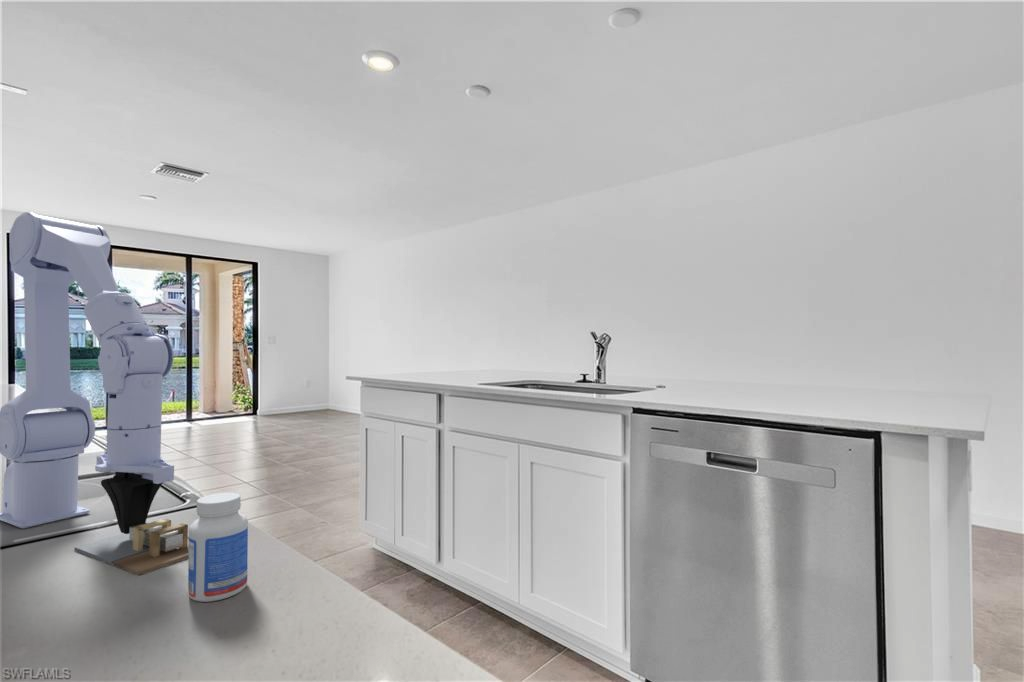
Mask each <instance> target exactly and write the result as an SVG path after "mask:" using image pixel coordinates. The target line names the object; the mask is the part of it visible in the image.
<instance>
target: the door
mask: <svg viewBox="0 0 1024 682" xmlns="http://www.w3.org/2000/svg"><path fill="white" fill-rule="evenodd" d="M146 523H147V524H144V525H140V526H136V527H133V541H132V540H129V534H124V533H120V534H118V535H113V536H110V537H106V538H101V539H98V540H95V541H91V542H89V543H85V544H81V545H77V546H74V549H73V550H74V551H75V552H77V553H80V554H83V555H84V556H88V557H90V558H93V559H96V560H99V561H100V562H103V563H106V564H108V565H113V562H115V561H118V560H121V559H124V558H127V557H131V556H134V555H137V554H140V553H143V552H146V551H149V546H147V545H144V544H143V530H146V529H149V528H153V527H156V526H160V527H164V528H167V527H170V526H172V519H169V518H162V519H159V520H156V521H152V522H146ZM176 531H177V532H178V530H176ZM188 538H189V531H188Z"/></svg>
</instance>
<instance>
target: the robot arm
mask: <svg viewBox="0 0 1024 682" xmlns="http://www.w3.org/2000/svg"><path fill="white" fill-rule="evenodd" d="M8 237H9V241H8V243H9V262H10V271H11V272H12V273H15V274H16V275H18V276H20V277H22V278H23V295H24V297H23V298H24V299H23V300H24V301H23V302H24V307H23V308H24V346H25V347H24V348H25V349H24V351H25V353H24V354H25V391H23V392H22V393H20V394H19V395H17V396H15V397H14V398H12V399H11V400H9V401H8V402H6V403H5V404H4V405H2V406H1V407H0V455H1V456H3V457H4V458H5V459H7V460H8V461H12V462H10V464H9V465H8V466H7V467H6V469H5V471H4V474H3V497H2V498H3V499H2V500H3V501H2V503H3V504H2V512H0V521H1V522H4V523H7V524H10V525H13V526H15V527H17V528H20V529H25V528H30V527H31V528H32V527H34V526H38V525H39V526H40V525H42V524H47V523H52V522H56V521H60V520H65V519H69V518H73V517H78V516H81V515H85V514H89V513H90V512H91V510H90V509H89V508H86V507H82V506H79V505H78V497H79V496H78V490H79V482H78V481H79V457H80V454H81V455H82V454H84V453H85V449H86V448H88V447H89V446H90V444H91V443H92V442H93V440H94V438H95V433H96V424H95V419H94V417H93V416H92V410H91V404H90V400H88V399H87V398H86V397H84V396H83V395H81V394H80V393H79V394H78V393H77V392H76V391H74V390H73V389H72V388H71V386H72V385H71V383H72V382H71V348H70V341H71V340H70V310H69V309H70V307H69V306H70V305H69V303H70V302H69V301H70V299H69V288H70V287H71V285H72V284H73V283H74V282H75V283H77V285H78V286H79V288H80V289H81V291H82V293H83V294H84V295H85V296H86V298H87V300H88V302H87V303H86V304H85V306H84V309H83V311H84V315H85V317H86V319H87V321H88V323H89V326H90V327H91V329H92V331H93V333H94V335H95V337H96V340H97V341H98V342H99V345H100V350H99V354H98V356H97V363H98V369H99V371H100V374H101V377H102V388H103V391H104V392H105V393H107V422H106V423H107V424H106V425H107V426H106V429H107V430H106V453H105V454H100V455H97V456H96V465H95V472H98V473H108V472H112V473H114V472H115V474H114V475H113V477H110V478H109V477H108V478H104V479H102V480H101V481H100V484H101V485H100V486H101V487H102V488H103V489H104V491H105V492H106V494H107V496H108V497H109V499H110V502H111V504H112V507H113V510H114V512H115V517H116V520H117V524H118V528H119V531H120V534H129V533H130V527H132V526H136V525H139V524H143V523H147V519H148V516H149V512H150V509H151V506H152V504H153V500H154V499H155V498H156V497H155V496H156V495H157V493H158V491H159V490H160V488H161V486H162V485H163V484H164V483H168V482H174V480H175V465H172V464H169V463H168V462H167V461H166V459H164V458H163V457H161V455H162V453H161V449H162V447H161V446H162V414H163V412H162V409H163V407H162V405H163V378H164V377H166V376H167V375H168V374H169V373H170V372H171V370H172V367H173V366H174V365H173V364H174V350H173V345H172V343H171V341H170V339H169V338H168V336H165V335H163V334H160V333H159V332H158V331H157V330H152V329H151V328H150V326H149V325H148V322H147V321H146V319H145V317H144V315H143V314H142V312H141V309H140V307H139V306H138V304H137V302H136V301H135V299H134V298H133V296H132V295H130V294H128V293H125V292H121V291H120V289H119V287H118V284H117V281H116V279H115V277H114V275H113V272H112V269H111V268H110V265H109V262H108V259H109V256H110V251H111V240H110V236H109V234H108V233H107V231H106V229H105V228H104V227H103V226H100V225H96V224H95V225H94V224H93V225H91V224H85V223H81V222H76V221H71V220H65V219H60V218H54V217H51V216H45V215H39V214H36V213H34V212H30V211H25V212H23V213H21V214H20V215H19V216H17V217H16V218H15V219H14V222H13V224H12V226H11V228H10V230H9V235H8ZM59 408H60V409H63V410H60V411H59V410H57V411H46V412H34V413H29V412H32V411H36V410H38V411H39V410H49V409H59Z"/></svg>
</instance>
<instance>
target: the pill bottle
mask: <svg viewBox="0 0 1024 682" xmlns="http://www.w3.org/2000/svg"><path fill="white" fill-rule="evenodd" d="M241 503H242V502H241V495H240V493H236V492H220V493H212V494H208V495H205V496H202V497H200V498H198V499H197V500H196V515H197V516H199V518H197V519H195V520H194V521H193V522H192V523H191V524H190V526H189V527H188V532H189V558H188V565H187V566H188V568H187V569H188V570H187V572H188V575H187V577H188V579H187V582H188V583H187V585H188V586H187V587H188V597H189V598H190V599H191V600H193V601H196V602H201V603H203V602H204V603H209V602H216V601H221V600H225V599H228V598H230V597H233V596H235V595H238V594H239V593H241V592H242V591H243V590H244V589H245V588H246V587H247V584H248V558H249V557H248V548H249V547H248V540H249V538H248V537H249V536H248V534H249V531H248V530H249V526H248V523H249V522H248V518H247V516H246V515H244V514H243V513H240V512H239V510H241V507H242V504H241Z"/></svg>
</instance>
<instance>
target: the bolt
mask: <svg viewBox="0 0 1024 682" xmlns="http://www.w3.org/2000/svg"><path fill="white" fill-rule="evenodd" d="M147 523H148V522H145V523H143V524H139V525H136V526H140V525H144V524H147ZM136 526H132V527H130V533H129V540H132V541H133V527H136ZM163 528H164V527H160V526H156V527H153V528H149V529H146V530H143V544H144V545H147V546H149V542H150V532H153V531H156V530H160V529H163ZM182 546H183V533H180V532H177V531H173V532H169V533H166V534H163V535H160V549H159V550H162V551H165V552H167V551H170V550H173V549H176V548H179V547H182Z"/></svg>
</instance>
